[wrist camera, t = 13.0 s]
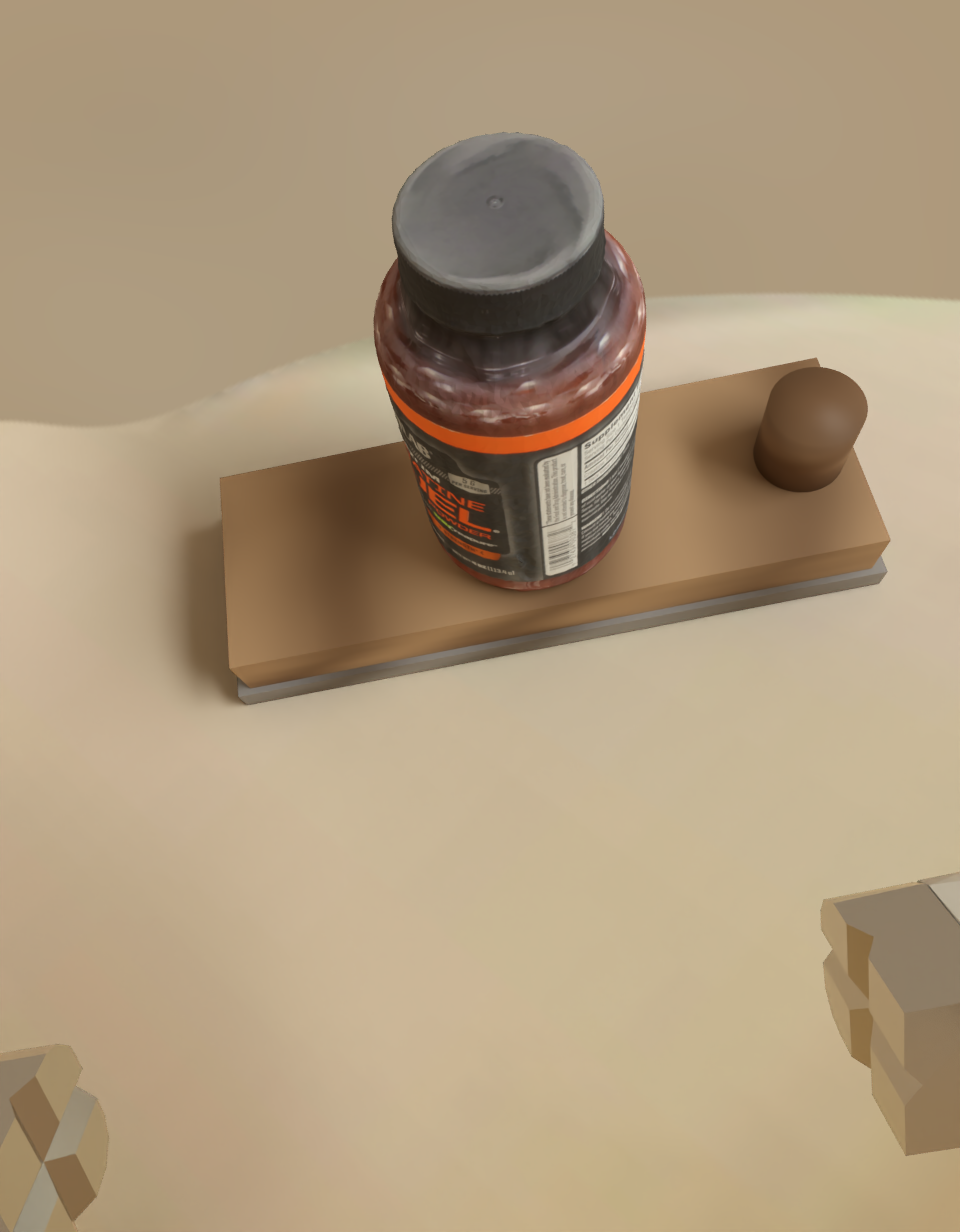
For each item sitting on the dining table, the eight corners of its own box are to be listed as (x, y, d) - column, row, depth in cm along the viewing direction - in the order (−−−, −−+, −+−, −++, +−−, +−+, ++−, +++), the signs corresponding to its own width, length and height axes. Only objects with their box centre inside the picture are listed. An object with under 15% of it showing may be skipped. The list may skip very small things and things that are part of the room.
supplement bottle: (391, 517, 27) (270, 219, 17) (525, 395, 28) (490, 48, 18) (532, 640, 25) (495, 386, 15) (671, 502, 26) (726, 178, 16)
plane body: (247, 704, 28) (181, 647, 23) (236, 515, 31) (176, 431, 26) (879, 583, 27) (938, 499, 23) (808, 401, 30) (848, 294, 26)
